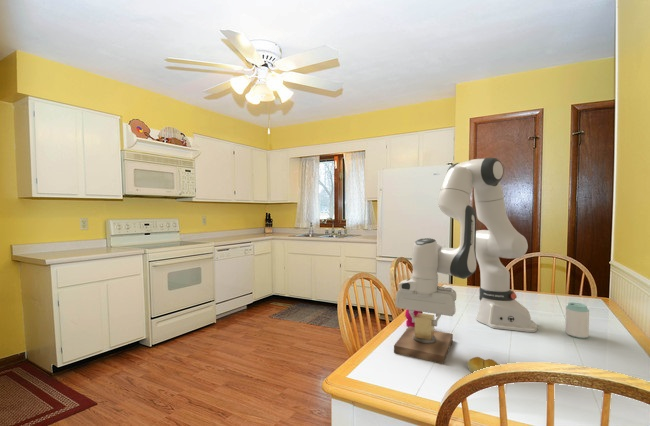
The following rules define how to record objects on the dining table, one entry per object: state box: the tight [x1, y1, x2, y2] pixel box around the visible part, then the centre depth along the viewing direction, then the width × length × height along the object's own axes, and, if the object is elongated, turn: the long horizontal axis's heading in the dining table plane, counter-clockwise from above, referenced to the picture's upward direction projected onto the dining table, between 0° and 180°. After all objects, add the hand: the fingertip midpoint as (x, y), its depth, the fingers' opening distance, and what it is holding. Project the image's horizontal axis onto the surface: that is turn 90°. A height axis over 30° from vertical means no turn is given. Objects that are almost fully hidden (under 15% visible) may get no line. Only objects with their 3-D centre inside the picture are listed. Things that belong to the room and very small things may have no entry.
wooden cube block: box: [415, 312, 435, 340], centre depth 114 cm, size 6×6×7 cm
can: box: [564, 301, 590, 340], centre depth 124 cm, size 7×7×12 cm
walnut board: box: [393, 326, 454, 365], centre depth 114 cm, size 16×20×10 cm
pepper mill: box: [404, 309, 424, 328], centre depth 134 cm, size 7×7×20 cm
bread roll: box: [467, 356, 500, 373], centre depth 97 cm, size 8×9×4 cm
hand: (424, 323), depth 114 cm, fingers closed on wooden cube block, 6 cm apart
